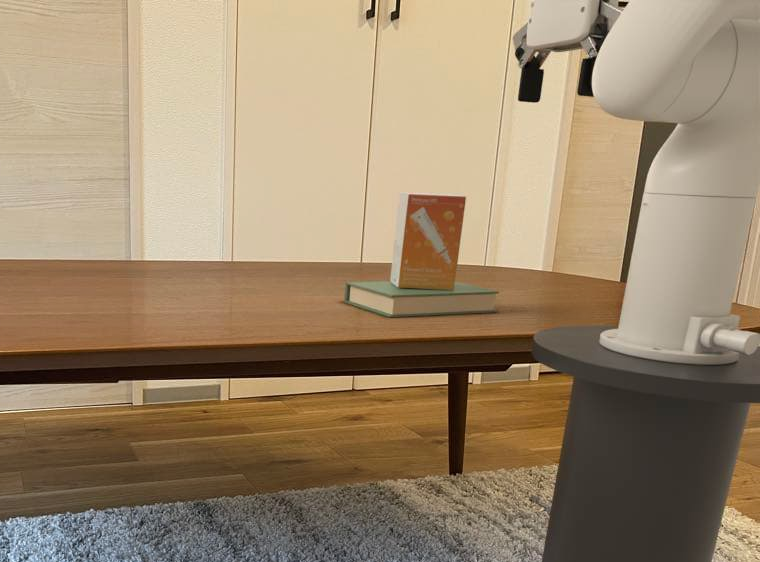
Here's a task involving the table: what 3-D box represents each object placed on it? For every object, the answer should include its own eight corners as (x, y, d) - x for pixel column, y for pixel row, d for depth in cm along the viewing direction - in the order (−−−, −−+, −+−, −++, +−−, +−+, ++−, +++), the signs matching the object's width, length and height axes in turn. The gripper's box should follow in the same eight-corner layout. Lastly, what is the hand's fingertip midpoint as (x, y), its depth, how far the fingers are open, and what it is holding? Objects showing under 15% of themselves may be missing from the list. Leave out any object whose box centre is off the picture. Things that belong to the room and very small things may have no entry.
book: (496, 312, 111) (499, 291, 110) (389, 317, 104) (392, 295, 104) (443, 298, 122) (445, 279, 121) (344, 302, 115) (345, 282, 114)
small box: (397, 288, 109) (407, 193, 105) (389, 282, 115) (398, 191, 111) (455, 291, 109) (467, 195, 105) (444, 284, 115) (455, 193, 111)
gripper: (667, -72, 85) (638, 95, 90) (548, -36, 100) (529, 105, 105) (617, -82, 82) (590, 91, 87) (503, -44, 98) (485, 102, 103)
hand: (557, 99), depth 96 cm, fingers open, 9 cm apart
